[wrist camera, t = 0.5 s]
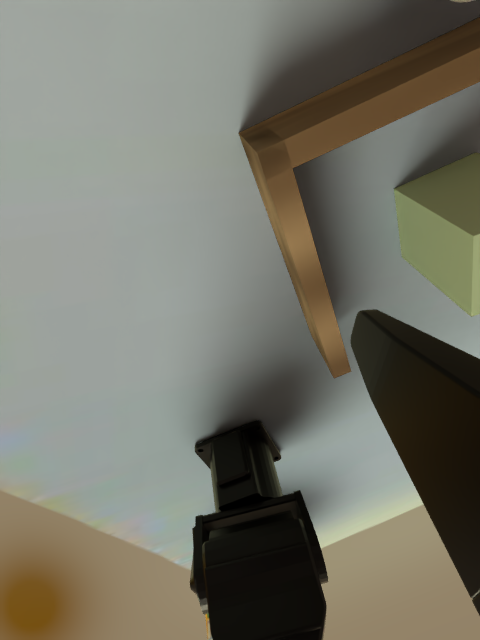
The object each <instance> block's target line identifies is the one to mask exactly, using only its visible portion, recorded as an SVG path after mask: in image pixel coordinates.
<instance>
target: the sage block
mask: <svg viewBox="0 0 480 640" xmlns="http://www.w3.org/2000/svg"><path fill="white" fill-rule="evenodd" d="M394 194H395V203H396V211H397V220H398V228H399V236H400V245H401V253H402V258H403V259H405V260H406V261H407V262H408V263H409V264H410V265H412V266H413V267H414V268H415V269H416V270H417V271H419V272H420V273H421V274H422V275H423V276H424V277H426V278H427V279H428V280H429V281H430V282H431V283H432V284H434V285H435V286H436V287H437V288H438V289H439V290H441V291H442V292H443V293H444V294H445V295H446V296H448V297H449V298H450V299H451V300H452V301H453V302H455V303H456V304H457V305H458V306H459V307H460V308H462V309H463V310H464V311H465V312H466V313H467V314H469V315H470V316H471V317H472V316H475V315H477V314H480V154H479V153H473V154H471V155H469V156H467V157H464V158H462V159H460V160H458V161H455V162H453V163H451V164H449V165H446V166H444V167H442V168H440V169H437V170H435V171H433V172H431V173H428V174H426V175H424V176H422V177H419V178H417V179H415V180H413V181H410V182H408V183H406V184H404V185H401V186H399V187H397V188H395V189H394Z"/></svg>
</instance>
